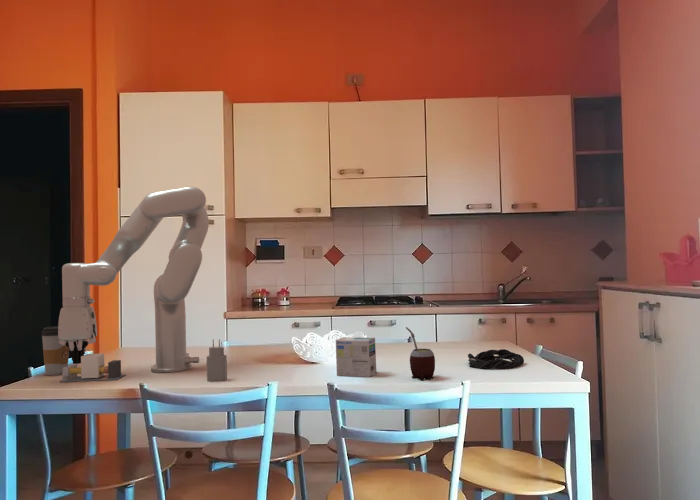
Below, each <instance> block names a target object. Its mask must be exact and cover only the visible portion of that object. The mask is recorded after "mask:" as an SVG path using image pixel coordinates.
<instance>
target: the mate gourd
mask: <svg viewBox="0 0 700 500" xmlns="http://www.w3.org/2000/svg"><path fill="white" fill-rule="evenodd" d="M405 329H406V330H407V331H408V332H409V333H410V337H411V338H412V341H413V345H414V347H415V349H412V350H411V352H410V355H409V367H410V371H411V374H412V376H411V379H420V381H421V382H422V381H423V382H424V380H427V379H428V380H434V379H435V376H434V374H435V370H436V359H435V358H436V357H435V354H434V352H433V350H432V349H430V348H418V345H417V342H416V339H415V337H416V336H415V334H414V333H413V332H412V330H411V329H410V328H409V327H407V326H406V327H405Z"/></svg>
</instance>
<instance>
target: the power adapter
mask: <svg viewBox="0 0 700 500" xmlns="http://www.w3.org/2000/svg"><path fill="white" fill-rule="evenodd" d="M214 340H215V339H212V346H210V347H208V352H209V353H208V355H207V356H206V381H207V382H208V383H210V382H212V383H214V382H216V383H217V382H219V383H220V382H226V381H227V380H228V366H227V365H228V364H227V363H228V360H227V359H228V358H227V354H225V347H224V346H221V343H220V342H221V340H220V339H218V346H215V344H214V342H215V341H214Z"/></svg>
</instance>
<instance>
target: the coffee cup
mask: <svg viewBox="0 0 700 500" xmlns="http://www.w3.org/2000/svg"><path fill="white" fill-rule="evenodd" d="M41 339H42V352H43V363H44V371H45V372H44V373H45V375H47V376H60V375H63V368H64V367H69V357H70V349H69V348H68V347H67V346H66V345H61V344H59V340H60V339H59V337H58V325H57V326H56V325H54V326H47V327H43V329H42V331H41Z"/></svg>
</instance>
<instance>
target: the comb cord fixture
mask: <svg viewBox="0 0 700 500" xmlns="http://www.w3.org/2000/svg"><path fill="white" fill-rule="evenodd" d="M107 364H108V365H107V366H105V365H104V367H99V373H105V375H103V376H101V377H99V378H81V367H78V364H77V363H76V364H73V363H72V364H70V365H69V366H68V367H64V368H63V374H62V379H61V380H59V383H75V382H77V383H78V382H81V381H82V382H103V381H104V382H105V381H107V382H108V381H118V380H120V379H122V378H124V377H125V376H127V374H122V360H121V359H116V360H115V359H113V360H111V361H108V363H107ZM79 374H80V375H79Z"/></svg>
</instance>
